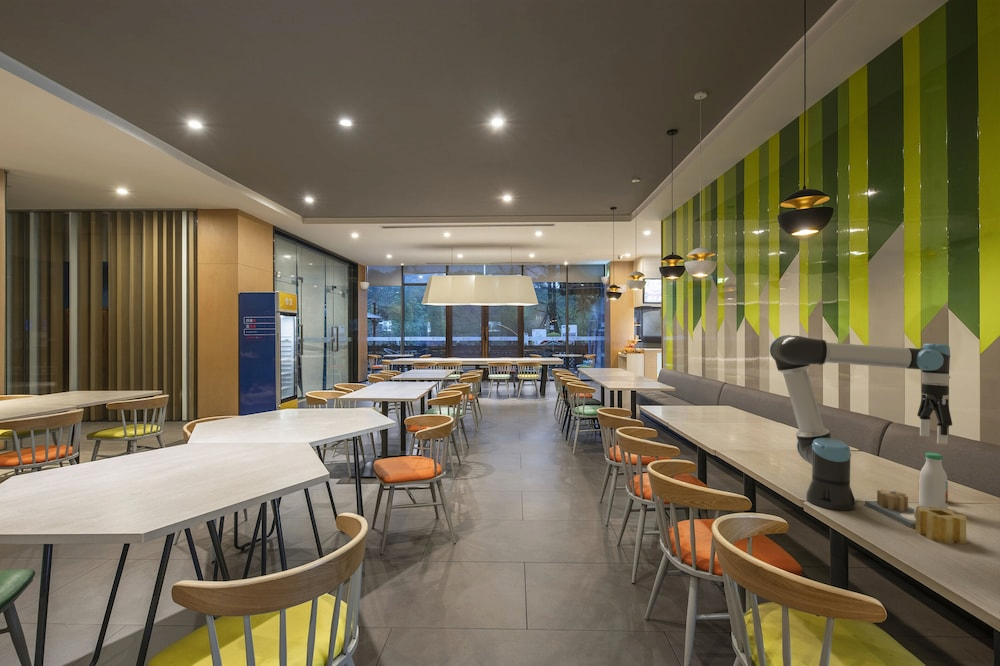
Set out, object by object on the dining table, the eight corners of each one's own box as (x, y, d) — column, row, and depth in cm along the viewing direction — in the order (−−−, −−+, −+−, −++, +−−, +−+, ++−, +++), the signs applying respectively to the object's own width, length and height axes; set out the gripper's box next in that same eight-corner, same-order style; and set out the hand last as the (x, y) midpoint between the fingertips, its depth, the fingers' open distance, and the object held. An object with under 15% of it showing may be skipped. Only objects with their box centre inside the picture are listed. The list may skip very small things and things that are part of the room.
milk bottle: (942, 513, 165) (942, 457, 165) (915, 505, 172) (915, 452, 171) (951, 509, 168) (952, 455, 168) (924, 502, 175) (925, 450, 175)
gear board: (910, 527, 152) (911, 505, 152) (864, 504, 172) (865, 485, 172) (948, 528, 151) (948, 506, 151) (897, 505, 171) (897, 486, 171)
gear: (938, 543, 140) (938, 518, 140) (909, 528, 151) (909, 506, 151) (973, 544, 140) (973, 519, 140) (941, 529, 151) (942, 506, 151)
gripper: (966, 388, 161) (964, 448, 162) (931, 381, 184) (929, 434, 185) (939, 386, 164) (937, 445, 164) (908, 380, 187) (906, 432, 187)
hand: (933, 439), depth 174 cm, fingers open, 13 cm apart
